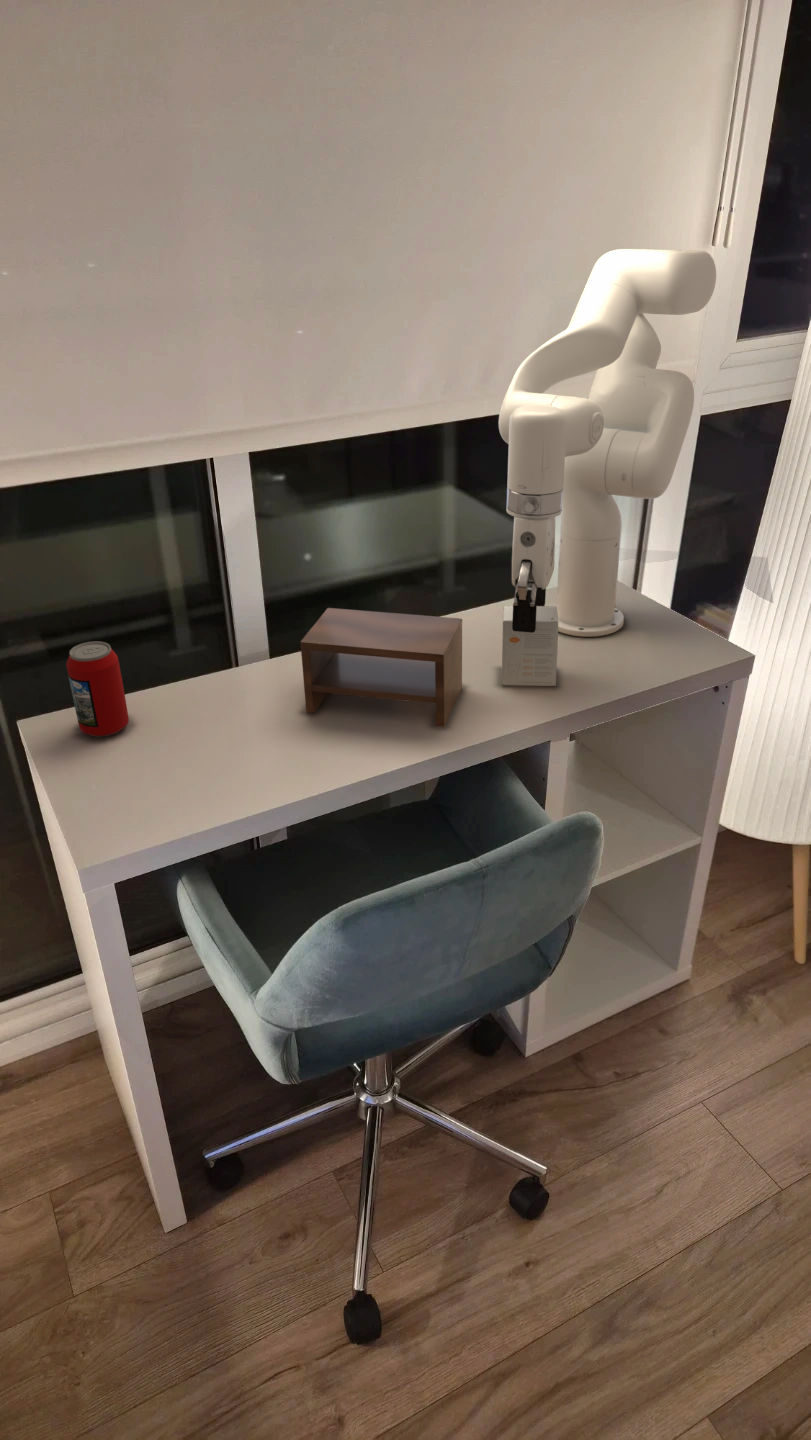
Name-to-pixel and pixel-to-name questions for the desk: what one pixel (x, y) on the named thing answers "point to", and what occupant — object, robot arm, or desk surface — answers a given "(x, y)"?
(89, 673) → the beverage can
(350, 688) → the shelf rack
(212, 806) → the desk surface
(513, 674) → the small box
